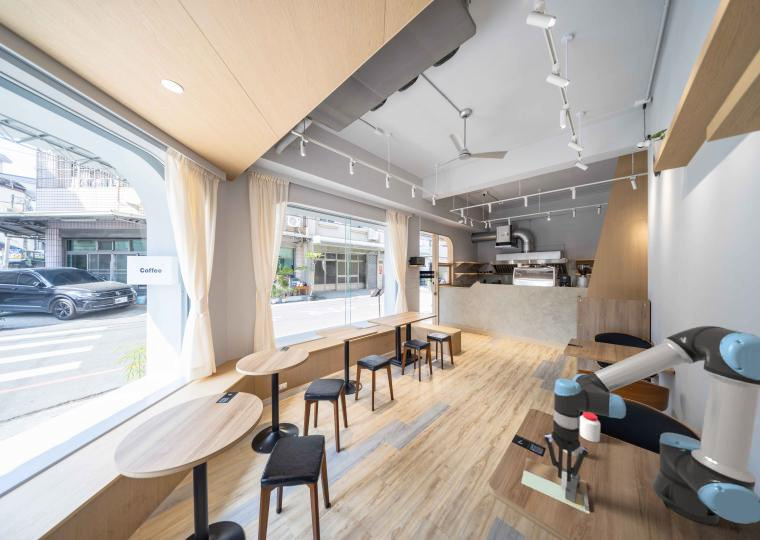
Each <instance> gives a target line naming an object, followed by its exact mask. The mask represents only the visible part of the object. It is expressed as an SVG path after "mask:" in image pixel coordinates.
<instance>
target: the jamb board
mask: <svg viewBox="0 0 760 540" xmlns="http://www.w3.org/2000/svg"><path fill="white" fill-rule="evenodd" d="M524 470H525V471H527V472H530V473H532V474H535V475H537V476H539V477H542V478H544V479H546V480H549V481H551V482H553V483H556V484H558V485H560V486H561V483H562V479H561V478H559V477H558V469H556V468H553V467H551V466H549V465H546V464H544V463H541V462H539V461H536V460H534V459H531V458H528V457H526V458H525V463H524V467H523V471H524ZM584 492H585V493H587V496H588V488H587V481H586V480H584V479H582V478H580V486H579V487H578V488H577V493H579V494H582V495H584ZM588 497H589V496H588Z"/></svg>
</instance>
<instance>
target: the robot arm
mask: <svg viewBox="0 0 760 540" xmlns="http://www.w3.org/2000/svg"><path fill="white" fill-rule="evenodd" d="M662 341H663V342H662V343H660V344H657V345H655V346H652V347H650V348H648V349H645V350H643V351H641V352H638V353H637V354H634V355H632V356H629V357H626V358H624V359H622V360H620V361H617V362H616V363H613V364H611V365H608V366H606V367H604V368H602V369H599V370H597V371H594V372H592V373H590V374H586V373H579V374H576V375H575V376H573V378H572V379H568V378H558V379H556V380H555V383H554V390H553V393H554V395H553V396H554V398H553V399H554V401H553V403H554V404H553V405H554V406H553V423H552V426H553V429H552V432H551V434H547V433H545V434H544V440H545V442H546V445H547V447H548V452H549V456H550V459H551V460H550V461H551V465H552V466H554V467H556V468H557V470H558V477H559V478H561V479H562V483H561V485H560V486H561V489H562V490H564V491H565V489H566V487H567V481H568V482H571V474H572V473H574V474H575V475H577V474H579V471H580V468H581V466H582V464H583V461H584V458H586V457H587V456H588V455H589V452H588V448H587V447H584V446H583V445H582V444H581V441H580V416H581V415H580V412H582V413H583V412H589V413H593V414H595V415H598V416H602V417H603V416H604V417H609V418H615V419H624V418H625V417H626V413H627V408H626V403H625V401H624V398H623V397H622V396H621V395H618V394H615V393H611V392H612V391H615V390H618V389H620V388H623V387H626V386H628V385H630V384H633V383H636V382H639V381H640V380H644V379H646V378H648V377H651V376H654V375H656V374H659V373H661V372H664V371H666V370H669V369H671V368H674V367H677V366H679V365H682V364H689V365H691V364H694V363H697V362H698V363H699V362H702V361H704V362H703V371H704V372H705V373H706V374H708V376H709V377H710V378H709V384H708V392H707V397H706V404H705V405H706V406H705V411H704V412H705V413H704V418H703V425H702V431H701V437H700V439H701V440H698V439H695V438H694V437H693V438H692V437H690V436H687V435H683V434H680V433H674V432H663V433H661V434H660V438H659V441H658V442H659V472H658V473H657V474H656V476H655V477H654V479H653V481H652V485H651V489H652V490H653V492H654V494H655V495H657V497H659V499H660V500H662V502H663V504H664V505H665V506H666V507H668V508H669V509H670V510H672V511H673V512H675V513H678V514H679V515H681V516H683V517H685V518H687V519H689V520H692V521H694V522H697V523H701V524H707V525H716V524H718V523H719V522H720V517H721V518H722V519H725V520H727V521H729V522H732V523H736V524H746V525H747V524H751V523H758V522H760V496H759V495H758V494H756V493H755V486H756V477H755V476H754V474H752V473H751V471H750V470H748V468H749V461H750V460H749V459H750V454H751V448H752V442H753V435H754V429H755V423H756V422H755V421H756V417H757V411H758V410H757V409H758V403H759V395H760V336H757V335H754V334H751V333H746V332H742V331H738V330H733V329H728V328H725V327H721V326H714V325H702V326H696V327H692V328H691V327H690V328H688V329H686V330H682V331H679V332H677V333H674V334H672V335H669V336H668V337H665V338H663V339H662ZM553 441H554V443H555V444H556V446H557V447H558V456H557V457H558V461H557V457H556V454H555V450H554V449H555V448H554V445H553ZM576 449H578V451H579V454H578V456H576V459H575V462H574V464H573V466H572V452H573V451H575V450H576ZM563 450H566V451H567V453H566V467H564V466H563V459H564V455H563V453H564V451H563Z"/></svg>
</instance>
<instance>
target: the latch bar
mask: <svg viewBox="0 0 760 540" xmlns="http://www.w3.org/2000/svg"><path fill="white" fill-rule="evenodd" d="M580 479H581V475H580V474H579V473H578V474H577V475H575V474H574V473H572V474H571V482H568V481H567V487H566V489H565V499H567V500H569V501H571V502H573V503H575V501H576V495H577V493H578V492H577V488H578V487H579V486H580Z"/></svg>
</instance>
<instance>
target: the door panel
mask: <svg viewBox="0 0 760 540" xmlns="http://www.w3.org/2000/svg"><path fill="white" fill-rule="evenodd" d="M521 484H522V485H525V486H527V487H528V488H531V489H533V490H535V491H538V492H540V493H542V494H545V495H547V496H549V497H551V498H553V499H556V500H558V501H559V502H562V503H564V504H566V505H569V506H570V507H572V508H575V509H577V510H580V511H581V512H584V513H585V514H588V515H590V513H591V512H590V505H589V496H587V495H588V492H587V493H585V492H584V495H583V494H581V493H578V492H577V495H576V501H575V503H573V502H571V501H569V500H567V499H565V491H564V490H562V489H561V485H559V484H557V483H555V482H552V481H550V480H548V479H545V478H543V477H541V476H538V475H536V474H534V473H531V472H529V471H526V470H524V469H523V472H522V477H521Z"/></svg>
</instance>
